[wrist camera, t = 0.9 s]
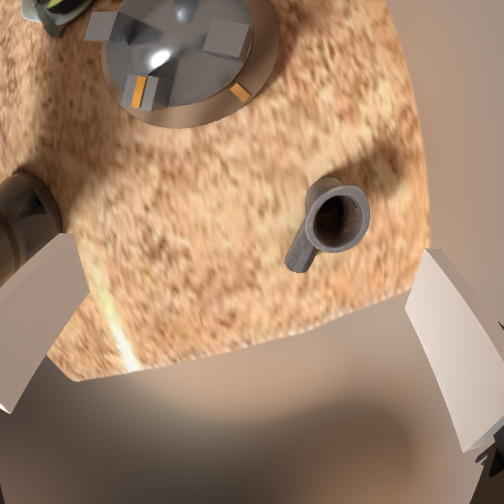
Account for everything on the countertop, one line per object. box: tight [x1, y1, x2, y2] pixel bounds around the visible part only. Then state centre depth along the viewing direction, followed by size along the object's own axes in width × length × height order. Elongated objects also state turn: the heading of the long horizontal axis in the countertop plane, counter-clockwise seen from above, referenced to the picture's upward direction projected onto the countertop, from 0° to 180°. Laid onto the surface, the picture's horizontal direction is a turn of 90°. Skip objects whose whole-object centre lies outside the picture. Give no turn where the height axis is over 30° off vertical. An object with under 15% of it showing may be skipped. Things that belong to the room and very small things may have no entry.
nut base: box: [101, 0, 280, 129], centre depth 25 cm, size 20×20×2 cm
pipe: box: [284, 177, 370, 273], centre depth 32 cm, size 6×13×8 cm, turn 159°
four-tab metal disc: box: [84, 0, 254, 111], centre depth 21 cm, size 15×15×7 cm
